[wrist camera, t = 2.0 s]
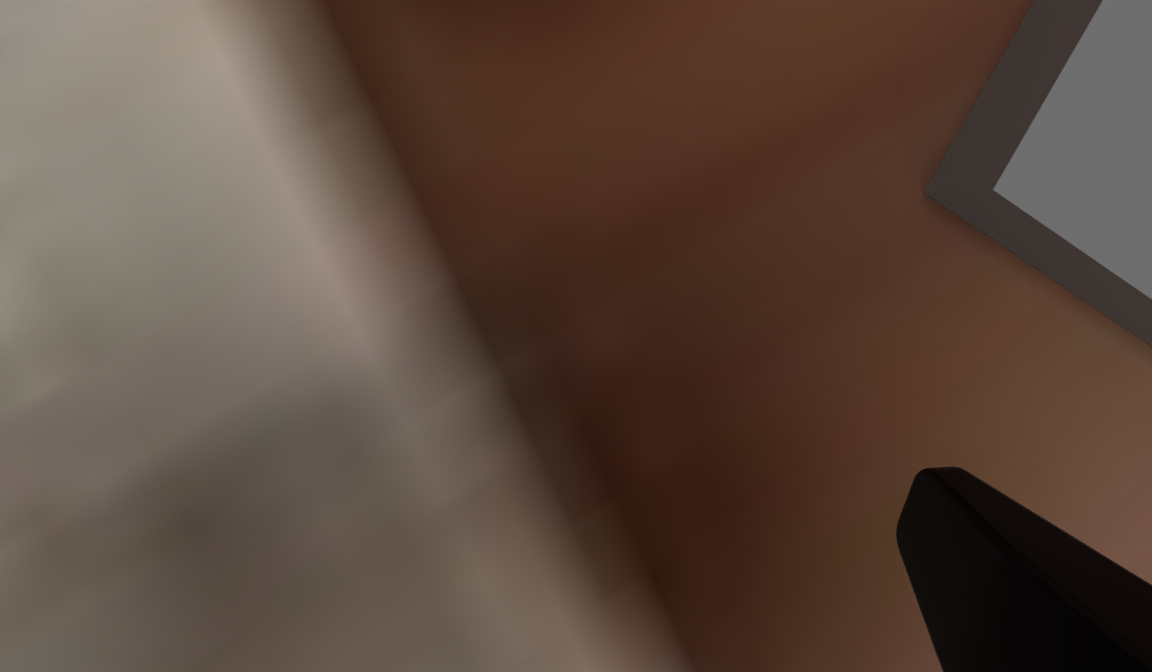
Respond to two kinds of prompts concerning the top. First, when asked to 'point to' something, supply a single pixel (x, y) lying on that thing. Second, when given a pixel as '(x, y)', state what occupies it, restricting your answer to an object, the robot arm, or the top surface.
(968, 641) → the robot arm
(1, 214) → the top surface
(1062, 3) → the base brick
